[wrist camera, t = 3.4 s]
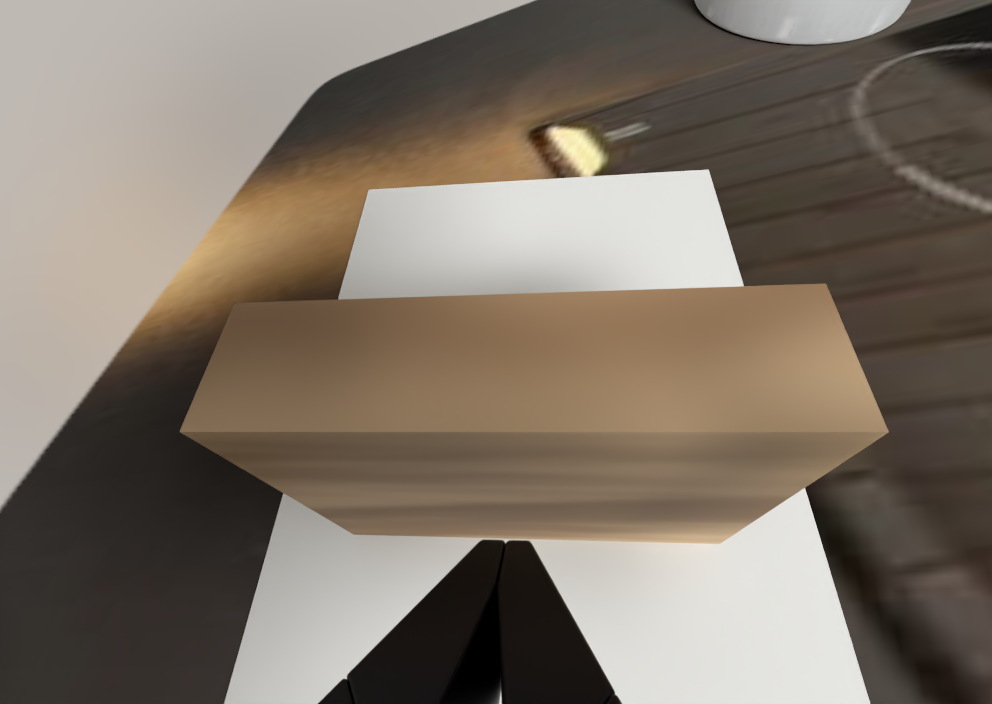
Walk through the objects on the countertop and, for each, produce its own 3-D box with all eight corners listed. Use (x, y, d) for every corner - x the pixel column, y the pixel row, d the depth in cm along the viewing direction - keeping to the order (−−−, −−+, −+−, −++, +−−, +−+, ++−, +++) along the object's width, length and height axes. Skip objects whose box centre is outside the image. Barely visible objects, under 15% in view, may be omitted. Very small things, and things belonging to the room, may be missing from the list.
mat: (889, 802, 12) (901, 807, 11) (221, 747, 14) (211, 750, 13) (705, 177, 25) (708, 169, 24) (371, 196, 27) (368, 189, 26)
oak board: (719, 543, 15) (889, 432, 7) (353, 534, 16) (179, 431, 9) (701, 452, 17) (826, 283, 9) (369, 451, 18) (234, 302, 10)
